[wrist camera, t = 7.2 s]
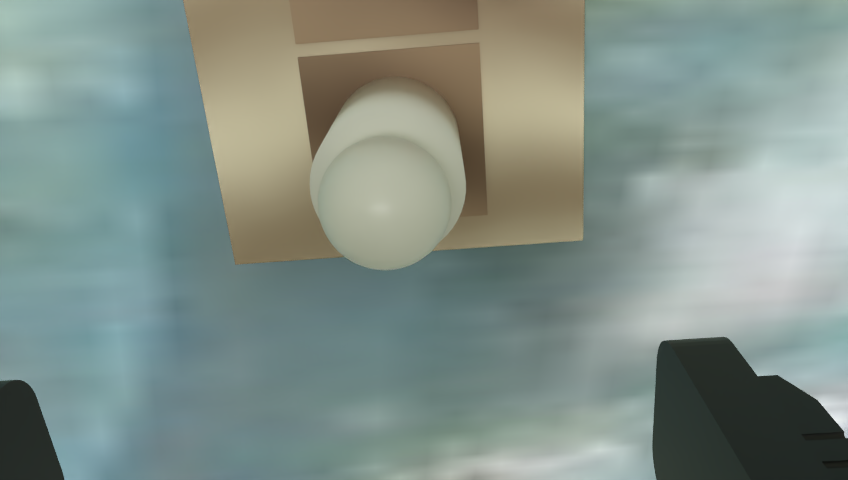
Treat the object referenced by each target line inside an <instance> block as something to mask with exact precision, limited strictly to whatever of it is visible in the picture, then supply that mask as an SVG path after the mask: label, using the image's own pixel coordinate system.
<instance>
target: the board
mask: <svg viewBox="0 0 848 480" xmlns="http://www.w3.org/2000/svg"><path fill="white" fill-rule="evenodd" d="M183 2H184V7H185V12H186V17H187V22H188V27H189V32H190V37H191V42H192V47H193V52H194V58H195V63H196V68H197V73H198V78H199V83H200V88H201V93H202V98H203V103H204V108H205V113H206V118H207V123H208V128H209V133H210V138H211V143H212V149H213V154H214V159H215V164H216V169H217V174H218V179H219V184H220V189H221V194H222V199H223V204H224V209H225V214H226V219H227V224H228V229H229V235H230V240H231V245H232V250H233V255H234V260H235V265H236V264H250V263H264V262H279V261H293V260H307V259H322V258H336V257H344V256H343V255H342V254H341V253H339V252H338V251H337V250H336V249H335V247H334V246H333V245H332V244H331V242H330V241H329V239H328V238H327V236H326V234H325V232H324V230H323V228H322V225H321V223H320V220H319V218H318V216H317V214H316V212H315V209H314V206H313V204H312V199H311V195H310V172H311V167H312V163H313V160H314V158H315V155H316V153H317V151H318V149H319V147H320V145H321V144H322V142H323V140H324V138H325V136H326V135H327V133H328V131H329V129H330V128H331V126H332V124H333V122H334V121H335V119H336V117H337V115H338V114H339V112H340V110H341V108H342V106H343V105H344V103H345V102H346V101H347V99H348V98H349V97H350V96H351V95H352V94H353V93H354V92H355V91H356V90H358V89H359V88H360V87H362V86H364V85H365V84H367V83H369V82H371V81H374V80H377V79H380V78H385V77H406V78H411V79H414V80H417V81H420V82H422V83H424V84H426V85H428V86H430V87H431V88H433V89H434V90H435V91H437V92H438V93H439V94H440V95H441V96H442V97H443V98H444V100H445V101H446V102H447V103H448V105H449V106H450V108H451V110H452V112H453V114H454V116H455V119H456V122H457V126H458V132H459V139H460V145H461V152H462V158H463V165H464V171H465V179H466V195H465V201H464V205H463V208H462V212H461V214H460V216H459V218H458V220H457V222H456V224H455V225H454V227H453V228H452V230H451V231H450V232H449V233H448V234H447V236H445V237H444V238H443V239H442V240H441V241H440V242H439V243H438V245H437V246H436V247H435V248H434V249H433V250H432V251H437V250H451V249H466V248H480V247H494V246H509V245H523V244H538V243H552V242H566V241H581V240H583V176H584V13H585V0H183Z"/></svg>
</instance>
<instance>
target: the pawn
mask: <svg viewBox="0 0 848 480" xmlns="http://www.w3.org/2000/svg"><path fill="white" fill-rule="evenodd" d="M310 195H311V199H312V204H313V206H314V209H315V212H316V214H317V216H318V218H319V220H320V223H321V225H322V228H323V230H324V232H325V234H326V236H327V238H328V239H329V241H330V242H331V244H332V245H333V246H334V247H335V249H336V250H337V251H338V252H339V253H341V254H342V255H343V256H344V257H345V258H347V259H348V260H350V261H352V262H354V263H356V264H358V265H360V266H363V267H366V268H370V269H375V270H394V269H400V268H404V267H407V266H409V265H412V264H414V263H416V262H418V261H420V260H421V259H422V258H424V257H425V256H427V255H428V254H429V253H430V252H431V251H432V250H433V249H434V248H435V247H436V246H437V245H438V243H439V242H440V241H441V240H442V239H443V238H444V237H445V236H447V234H448V233H449V232H450V231H451V230H452V228H453V227H454V225H455V224H456V222H457V220H458V218H459V216H460V214H461V212H462V208H463V205H464V201H465V195H466V179H465V171H464V165H463V158H462V152H461V145H460V139H459V132H458V126H457V122H456V119H455V116H454V114H453V112H452V110H451V108H450V106H449V105H448V103H447V102H446V101H445V100H444V98H443V97H442V96H441V95H440V94H439V93H438V92H437V91H435V90H434V89H433V88H431V87H430V86H428V85H426V84H424V83H422V82H420V81H417V80H414V79H411V78H406V77H385V78H380V79H377V80H374V81H371V82H369V83H367V84H365V85H364V86H362V87H360V88H359V89H358V90H356V91H355V92H354V93H353V94H352V95H351V96H350V97H349V98H348V99H347V101H346V102H345V103H344V105H343V106H342V108H341V110H340V112H339V114H338V115H337V117H336V119H335V121H334V122H333V124H332V126H331V128H330V129H329V131H328V133H327V135H326V136H325V138H324V140H323V142H322V144H321V145H320V147H319V149H318V151H317V153H316V155H315V158H314V160H313V163H312V167H311V172H310Z"/></svg>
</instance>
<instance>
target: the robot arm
mask: <svg viewBox="0 0 848 480" xmlns="http://www.w3.org/2000/svg"><path fill="white" fill-rule="evenodd" d="M653 461H654V468H655V474H656V479H657V480H848V438H845V436H844V431H843V430H842V429H841V428H840V426H839V425H838V424H837V423H836V422H835V420H834V419H833V418H832V417H831V416H830V415H829V413H828V412H827V411H826V410H825V409H824V407H823V406H822V405H821V404H820V403H819V402H818V400H816V399H815V398H813V397H811V396H810V395H808V394H807V393H805V392H803V391H802V390H800V389H799V388H797V387H795V386H794V385H792V384H791V383H789V382H787V381H786V380H784V379H783V378H781V377H779V376H778V375H773V376H757V375H756V374H755V372H754V371H753V370H752V368H751V367H750V366H749V364H748V363H747V362H746V360H745V359H744V358H743V356H742V355H741V354H740V352H739V351H738V350H737V348H736V347H735V346H734V344H733V343H732V342H731V341H730V340H729V339H728V338H726V337H714V338H699V339H683V340H667V341H662V342H661V344H660V346H659V349H658V354H657V368H656V387H655V405H654V424H653ZM0 480H64V476H63V472H62V469H61V466H60V464H59V461H58V458H57V455H56V452H55V449H54V446H53V443H52V441H51V438H50V435H49V432H48V429H47V426H46V423H45V420H44V418H43V415H42V412H41V409H40V406H39V403H38V400H37V397H36V395H35V393H34V391H33V389H32V388H31V387H30V386H29V385H28V384H27V383H26V382H24V381H21V380H8V381H0Z"/></svg>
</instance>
